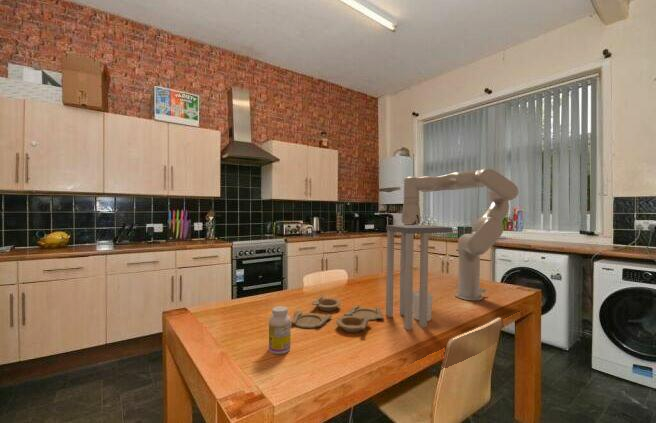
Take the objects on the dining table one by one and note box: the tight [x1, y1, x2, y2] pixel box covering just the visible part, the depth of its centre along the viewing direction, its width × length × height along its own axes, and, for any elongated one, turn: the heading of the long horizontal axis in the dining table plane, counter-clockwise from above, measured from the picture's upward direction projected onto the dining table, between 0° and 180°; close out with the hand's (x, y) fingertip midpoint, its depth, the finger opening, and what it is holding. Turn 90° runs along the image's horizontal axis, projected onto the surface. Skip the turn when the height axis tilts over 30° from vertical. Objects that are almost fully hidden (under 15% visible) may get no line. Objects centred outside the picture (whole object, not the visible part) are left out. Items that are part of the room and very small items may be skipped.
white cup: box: [412, 290, 434, 322], centre depth 119 cm, size 8×8×10 cm
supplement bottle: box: [268, 305, 292, 355], centre depth 91 cm, size 7×7×13 cm
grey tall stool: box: [385, 224, 453, 331], centre depth 117 cm, size 20×15×37 cm
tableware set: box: [291, 294, 385, 333], centre depth 118 cm, size 35×29×4 cm
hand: (410, 237), depth 150 cm, fingers closed
